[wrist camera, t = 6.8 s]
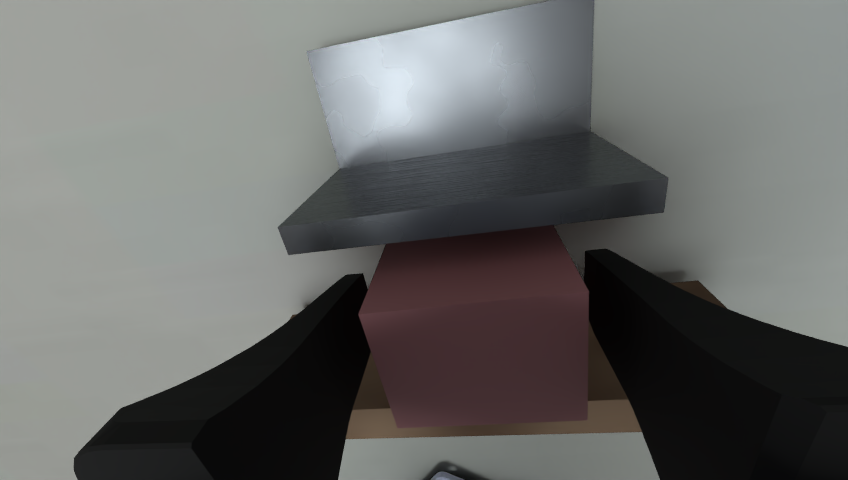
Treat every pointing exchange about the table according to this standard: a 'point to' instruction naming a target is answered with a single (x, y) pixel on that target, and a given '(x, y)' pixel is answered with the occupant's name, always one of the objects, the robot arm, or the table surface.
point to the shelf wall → (604, 416)
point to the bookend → (466, 133)
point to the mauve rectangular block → (480, 329)
